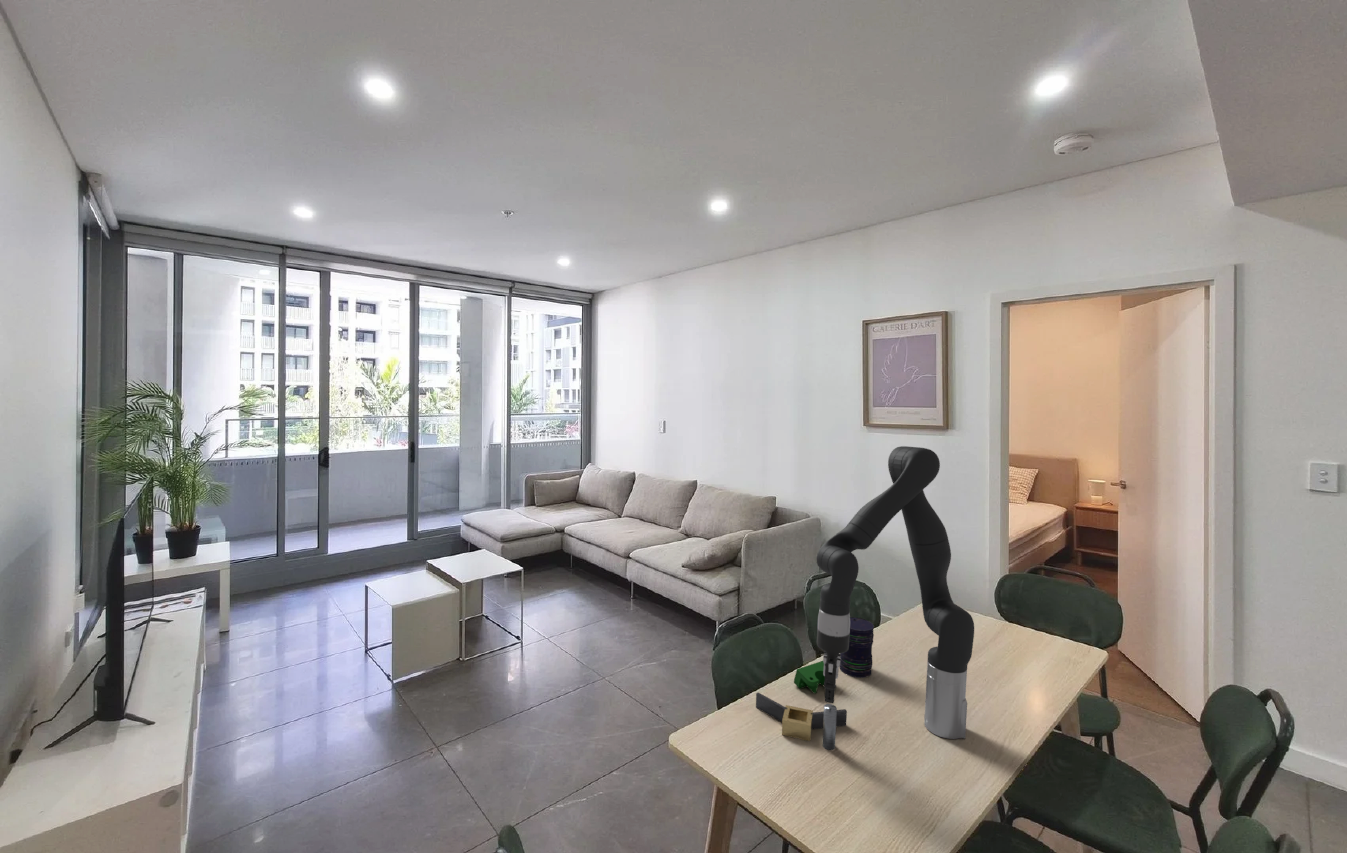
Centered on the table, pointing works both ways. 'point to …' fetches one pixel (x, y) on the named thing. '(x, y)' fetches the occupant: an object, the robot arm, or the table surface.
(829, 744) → the hinge pin
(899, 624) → the table surface
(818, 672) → the clamp
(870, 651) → the storage jar
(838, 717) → the hinge
